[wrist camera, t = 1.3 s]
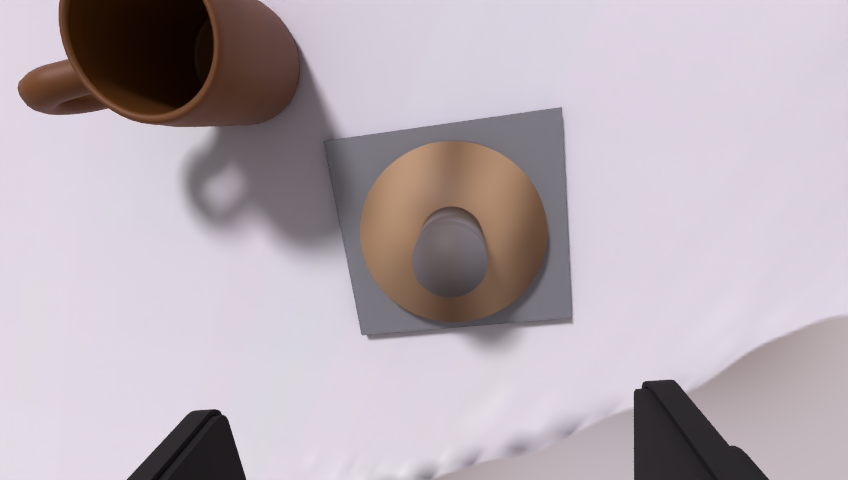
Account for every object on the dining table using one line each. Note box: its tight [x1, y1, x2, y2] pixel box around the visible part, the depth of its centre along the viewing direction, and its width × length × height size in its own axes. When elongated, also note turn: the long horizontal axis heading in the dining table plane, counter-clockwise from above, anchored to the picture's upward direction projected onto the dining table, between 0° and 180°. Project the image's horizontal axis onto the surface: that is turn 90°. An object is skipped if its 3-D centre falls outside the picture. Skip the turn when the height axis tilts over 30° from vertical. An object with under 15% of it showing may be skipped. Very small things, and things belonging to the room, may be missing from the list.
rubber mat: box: [324, 107, 572, 335], centre depth 28 cm, size 15×14×1 cm
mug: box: [18, 0, 299, 127], centre depth 23 cm, size 12×8×9 cm, turn 109°
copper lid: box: [360, 140, 547, 322], centre depth 25 cm, size 12×12×6 cm
